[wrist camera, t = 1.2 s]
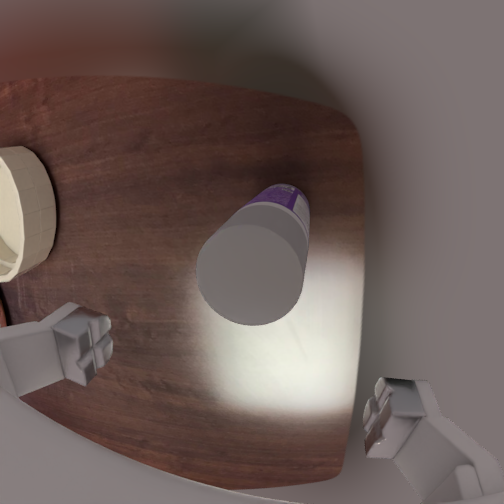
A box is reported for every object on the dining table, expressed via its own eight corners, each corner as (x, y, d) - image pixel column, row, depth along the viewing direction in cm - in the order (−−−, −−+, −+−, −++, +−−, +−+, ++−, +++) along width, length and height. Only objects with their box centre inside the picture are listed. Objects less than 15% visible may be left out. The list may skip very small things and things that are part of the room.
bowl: (-9, 146, 31) (-41, 151, 25) (62, 145, 29) (23, 148, 23) (-4, 253, 36) (-33, 266, 30) (64, 277, 34) (31, 297, 28)
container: (245, 219, 28) (175, 291, 14) (272, 172, 26) (224, 197, 12) (291, 248, 28) (267, 346, 14) (320, 202, 26) (329, 262, 12)
